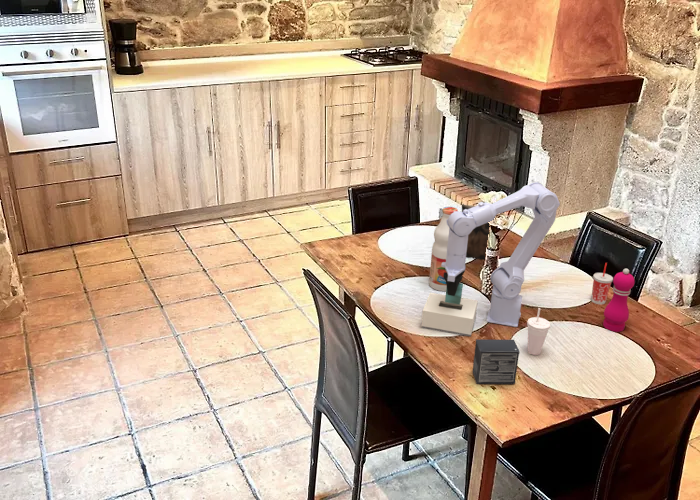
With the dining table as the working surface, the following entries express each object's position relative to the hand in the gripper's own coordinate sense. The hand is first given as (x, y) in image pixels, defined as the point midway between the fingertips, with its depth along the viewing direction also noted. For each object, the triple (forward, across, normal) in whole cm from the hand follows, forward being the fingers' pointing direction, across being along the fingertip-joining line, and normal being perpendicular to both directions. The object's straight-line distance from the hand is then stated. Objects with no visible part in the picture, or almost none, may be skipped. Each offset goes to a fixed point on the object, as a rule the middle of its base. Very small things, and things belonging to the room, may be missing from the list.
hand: (452, 292), depth 205 cm
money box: (+10, 0, 0) cm, 10 cm away
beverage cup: (+11, -31, +45) cm, 56 cm away
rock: (+11, -55, +2) cm, 56 cm away
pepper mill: (+11, -15, +49) cm, 52 cm away
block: (+3, 0, 0) cm, 3 cm away
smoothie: (+11, +8, +26) cm, 29 cm away
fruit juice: (+11, -24, -6) cm, 27 cm away
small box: (+11, +25, +16) cm, 32 cm away
